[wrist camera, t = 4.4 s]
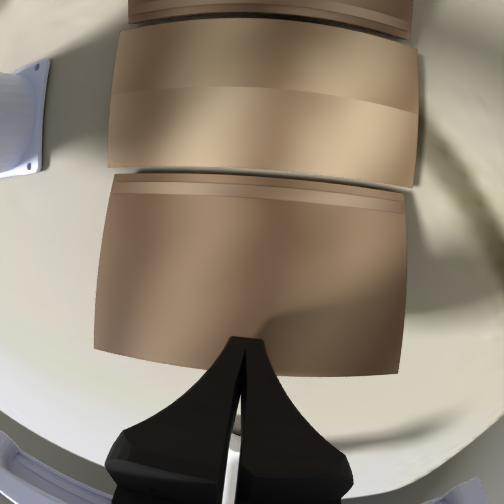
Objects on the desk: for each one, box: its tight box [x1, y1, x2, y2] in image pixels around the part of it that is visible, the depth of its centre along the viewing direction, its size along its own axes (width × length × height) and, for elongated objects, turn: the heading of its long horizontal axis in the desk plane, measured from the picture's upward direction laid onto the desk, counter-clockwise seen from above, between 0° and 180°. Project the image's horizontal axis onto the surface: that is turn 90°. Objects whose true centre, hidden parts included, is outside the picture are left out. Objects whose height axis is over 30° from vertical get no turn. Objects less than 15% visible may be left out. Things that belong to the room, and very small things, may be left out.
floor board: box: [107, 18, 419, 188], centre depth 12 cm, size 16×8×1 cm, turn 87°
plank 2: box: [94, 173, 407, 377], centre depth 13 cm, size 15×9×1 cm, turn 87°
